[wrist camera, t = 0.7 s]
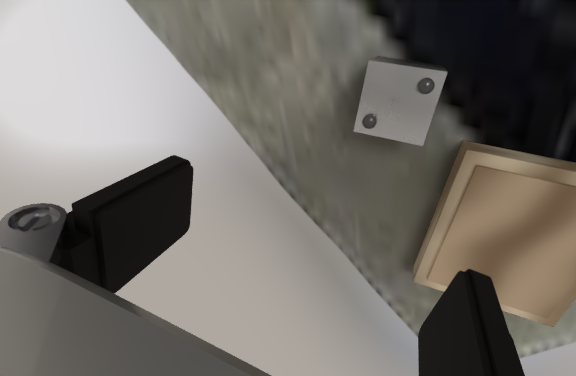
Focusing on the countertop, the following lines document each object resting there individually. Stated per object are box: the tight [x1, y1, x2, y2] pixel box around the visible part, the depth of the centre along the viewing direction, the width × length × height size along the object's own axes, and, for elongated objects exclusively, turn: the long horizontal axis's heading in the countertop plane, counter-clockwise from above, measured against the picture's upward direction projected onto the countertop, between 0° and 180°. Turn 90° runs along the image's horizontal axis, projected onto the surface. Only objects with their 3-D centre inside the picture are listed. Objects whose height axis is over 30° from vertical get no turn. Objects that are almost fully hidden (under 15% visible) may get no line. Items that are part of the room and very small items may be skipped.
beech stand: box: [413, 141, 576, 327], centre depth 27 cm, size 12×14×3 cm
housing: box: [354, 56, 447, 146], centre depth 24 cm, size 5×5×6 cm
